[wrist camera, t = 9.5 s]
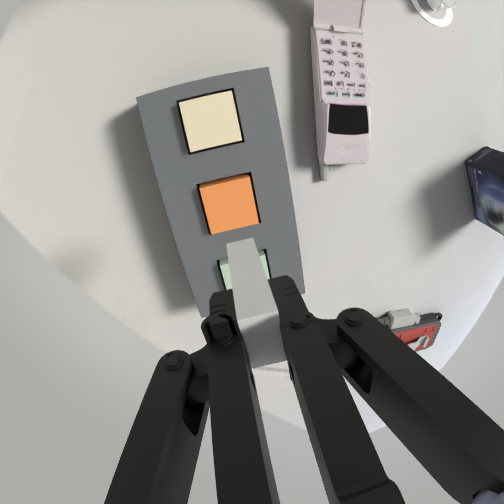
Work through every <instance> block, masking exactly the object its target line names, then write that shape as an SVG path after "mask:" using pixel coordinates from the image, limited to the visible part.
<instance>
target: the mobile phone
mask: <svg viewBox="0 0 504 504" xmlns="http://www.w3.org/2000/svg"><path fill="white" fill-rule="evenodd" d="M364 7H365V0H314V18H313V25H312V26H311V28H310V38H311V54H312V72H313V88H314V103H315V122H316V138H317V153H318V159H319V166H320V176H321V180H322V181H327V180H328V175H329V165H336V164H365V163H366V162H367V161H368V159H369V151H370V133H371V105H370V94H369V80H368V70H367V61H366V53H365V45H364V38H363V33H364V32H363V30H362V29H361V27H362V20H363V14H364Z"/></svg>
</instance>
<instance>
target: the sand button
mask: <svg viewBox="0 0 504 504" xmlns="http://www.w3.org/2000/svg"><path fill="white" fill-rule="evenodd" d="M179 105H180V110H181V114H182V118H183V123H184V127H185V131H186V135H187V140H188V144H189V148H190V152H194V151H198V150H202V149H206V148H210V147H214V146H219V145H223V144H227V143H232V142H237V141H241V140H242V137H241V132H240V127H239V123H238V118H237V113H236V108H235V104H234V99H233V94H232V91H227V92H222V93H217V94H213V95H208V96H204V97H200V98H195V99H191V100H187V101H183V102H180V103H179Z"/></svg>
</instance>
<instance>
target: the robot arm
mask: <svg viewBox="0 0 504 504" xmlns="http://www.w3.org/2000/svg"><path fill="white" fill-rule="evenodd" d="M226 247H227V254H228V261H229V269H230V276H231V283H232V289H228V290H223V291H219V292H214V293H213V294H212V296H211V298H210V299H209V308H210V309H209V312H210V316H208V317H207V318H205V320H204V321H203V322H202V324H201V329H202V332H203V334H204V337H205V339H206V342H207V344H206V345H205V346H204V347H203V348H202V349H200V350H198V351H197V352H194V353H192V354H190V355H189V354H188V353H186V352H185V351H181V350H176V351H171V352H169V353H166V354H165V355H164V356H163V357H161V359H160V360H159V362H158V364H157V366H156V368H155V371H154V373H153V376H152V378H151V381H150V383H149V385H148V388H147V390H146V393H145V395H144V398H143V400H142V403H141V405H140V408H139V411H138V413H137V415H136V418H135V421H134V423H133V426H132V429H131V431H130V434H129V436H128V439H127V442H126V444H125V447H124V450H123V452H122V455H121V457H120V460H119V463H118V466H117V469H116V471H115V474H114V477H113V480H112V483H111V485H110V488H109V491H108V494H107V497H106V500H105V503H104V504H187V503H188V498H189V494H190V489H191V485H192V481H193V476H194V472H195V468H196V463H197V459H198V455H199V450H200V446H201V442H202V437H203V433H204V428H205V424H206V420H207V416H208V411H209V407H210V414H211V430H212V444H213V456H214V467H215V478H216V489H217V498H218V504H280V501H279V497H278V492H277V488H276V483H275V478H274V473H273V469H272V464H271V460H270V455H269V450H268V445H267V440H266V435H265V431H264V425H263V421H262V415H261V410H260V405H259V400H258V395H257V390H256V385H255V380H254V376H253V373H252V369H251V368H256V367H261V366H265V365H269V364H273V363H277V362H281V361H285V360H287V361H288V367H289V373H290V378H291V381H293V385H294V388H295V391H296V395H297V398H298V401H299V405H300V408H301V411H302V414H303V418H304V421H305V424H306V428H307V431H308V434H309V437H310V441H311V444H312V448H313V451H314V454H315V457H316V461H317V464H318V467H319V471H320V474H321V477H322V481H323V484H324V487H325V491H326V494H327V497H328V501H329V504H405V502H404V499H403V497H402V494H401V492H400V490H399V488H398V486H397V485H396V484H395V482H393V481H392V480H390V479H389V478H388V477H387V475H386V473H385V471H384V469H383V466H382V464H381V461H380V459H379V457H378V454H377V452H376V450H375V447H374V445H373V443H372V440H371V438H370V436H369V434H368V431H367V429H366V427H365V424H364V422H363V420H362V418H361V415H360V413H359V411H358V409H357V406H356V404H355V402H354V400H353V398H352V395H351V393H350V391H349V389H348V387H347V384H346V382H345V380H344V378H343V376H344V377H345V378H346V380H347V381H348V382H349V383H350V384H351V385H352V386H353V388H354V389H355V390H356V391H357V392H358V393H359V394H360V396H361V397H362V398H363V399H364V400H365V401H366V402H367V404H368V405H369V406H370V407H371V408H372V409H373V410H374V412H375V413H376V414H377V415H378V416H379V417H380V418H381V419H382V421H383V422H384V423H385V424H386V425H387V426H388V427H389V429H390V430H391V431H392V432H393V433H394V434H395V435H396V436H397V438H398V439H399V440H400V441H401V442H402V443H403V444H404V445H405V446H406V448H407V449H408V450H409V451H410V452H411V453H412V454H413V455H414V457H415V458H416V459H417V460H418V461H419V462H420V463H421V464H422V466H423V467H424V468H425V469H426V470H427V471H428V472H429V473H430V474H431V476H432V477H433V478H434V479H435V480H436V481H437V482H438V483H439V484H440V485H441V487H442V488H443V489H444V490H445V491H446V492H447V493H448V494H449V495H450V496H452V498H454V499H455V500H456V501H458V502H459V503H461V504H504V430H503V429H502V428H500V427H499V426H498V425H497V424H496V423H495V422H494V421H493V420H492V419H491V418H490V417H489V416H487V415H486V414H485V413H484V412H483V411H482V410H481V409H480V408H479V407H478V406H476V405H475V404H474V403H473V402H472V401H471V400H470V399H469V398H468V397H466V396H465V395H464V394H463V393H462V392H461V391H460V390H459V389H457V388H456V387H455V386H454V385H453V384H452V383H451V382H449V381H448V380H447V379H446V378H445V377H444V376H443V375H442V374H440V373H439V372H438V371H437V370H436V369H435V368H433V367H432V366H431V365H430V364H429V363H428V362H427V361H425V360H424V359H423V358H422V357H421V356H420V355H418V354H417V353H416V352H415V351H414V350H413V349H411V348H410V347H409V346H408V345H407V344H406V343H404V342H403V341H402V340H401V339H400V338H398V337H397V336H396V335H395V334H394V333H393V332H391V331H390V330H389V329H388V328H387V327H385V326H384V325H383V324H382V323H381V322H379V321H378V320H377V319H376V318H375V317H373V316H372V315H371V314H370V313H369V312H367V311H365V310H364V309H360V308H349V309H346V310H343V311H342V312H341V313H339V315H338V317H337V319H329V320H327V319H319V318H316V317H314V315H313V314H312V313H310V312H309V311H308V309H307V307H306V305H305V303H304V301H303V299H302V297H301V294H300V292H299V290H298V288H297V286H296V284H295V282H294V280H293V279H292V278H290V277H289V276H287V275H284V276H279V277H275V278H271V279H267V277H266V274H265V271H264V268H263V265H262V262H261V259H260V256H259V253H258V251H257V248H256V245H255V242H254V239H253V238H248V239H244V240H240V241H235V242H231V243H227V244H226ZM342 375H343V376H342Z"/></svg>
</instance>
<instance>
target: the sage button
mask: <svg viewBox="0 0 504 504" xmlns="http://www.w3.org/2000/svg"><path fill="white" fill-rule="evenodd" d="M257 251H258V253H259V256H260V259H261V262H262V265H263V268H264V271H265V274H266V277H267V279H270V277H269V272H268V267H267V262H266V256H265V253H264V251H263V249H262V250H257ZM219 260H220V267H221V271H222V275H223V278H224V282H225V285H226V289H227V290H228V289H232V283H231V276H230V269H229V261H228V258H224V259H219Z"/></svg>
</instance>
